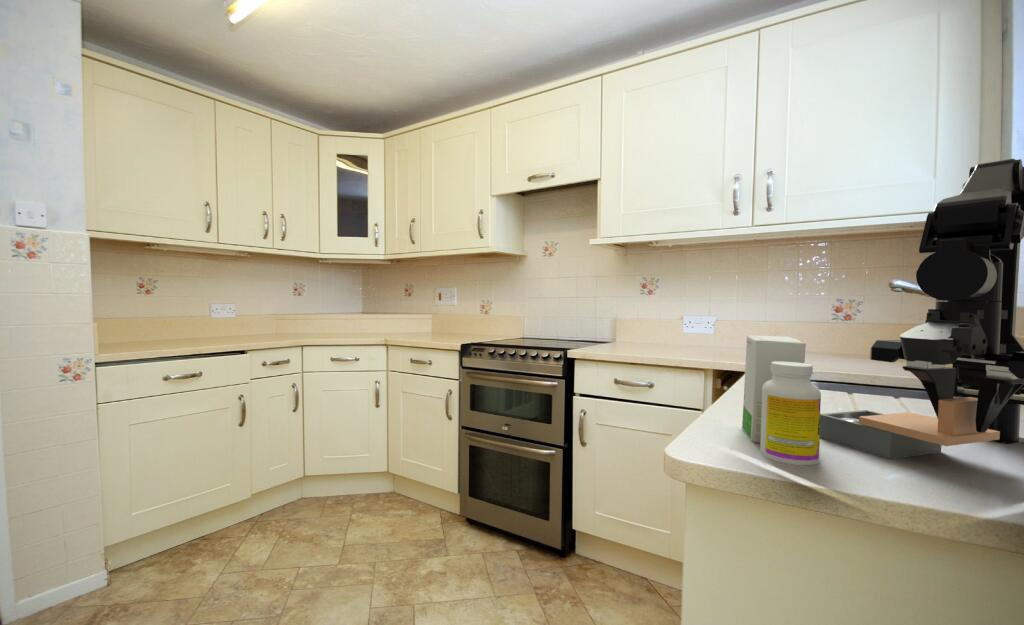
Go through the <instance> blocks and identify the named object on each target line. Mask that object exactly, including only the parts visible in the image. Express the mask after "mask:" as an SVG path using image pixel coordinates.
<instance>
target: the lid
mask: <svg viewBox="0 0 1024 625" xmlns="http://www.w3.org/2000/svg"><path fill="white" fill-rule="evenodd" d="M977 400H978V398H973V397H953V399H941V400H939V407H938V418H937V417H933V416H928V415H924V414H920V413H915V412H910V411H909V412H906V411H905V412H898V413H896V412H895V413H886V414H884V413H882V414H883V415H872V416H861V417H859V424H861V425H865V426H869V427H873V428H877V429H881V430H885V431H888V432H892V433H896V434H900V435H904V436H908V437H912V438H916V439H919V440H923V441H927V442H931V443H935V444H939V445H941V446H943V447H950V446H951V447H952V446H960V445H966V444H975V443H981V442H982V443H984V442H990V441H991V440H999V439H1000V431H995V430H990V429H987V431H986V432H982V433H980V432H977V431H976V410H977ZM991 442H992V441H991Z"/></svg>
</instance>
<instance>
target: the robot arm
mask: <svg viewBox="0 0 1024 625" xmlns="http://www.w3.org/2000/svg"><path fill="white" fill-rule="evenodd" d="M968 174H969V175H968V179H967V180H966V181H965V182H964V183H963V184H962V186H961V187H962V188H961V191H960V193H959V195H953V196H951V197H946V198H942V199H941V200H940V201H939V202H937V203H936V204H935V205H934V207H933V211H932V212H931V211H930V212H928V214H927V216H926V219H925V224H924V228H923V232H922V234H921V235H922V237H921V240H920V244H919V248H918V253H919V254H920V255H928V256H927V257H925V258H924V259H923V261H921V263H920V264H919V266H918V268H917V270H916V273H915V278H916V283H917V285H918V287H919V289H920V290H921V291H923V293H924V294H926V295H927V296H928V297H930V298H934V299H935V308H927V309H928V310H927V313H926V318H925V322H924V323H922V324H918V325H916V326H914V327H911V329H908V330H907V331H904V332H903V333H901V334H899V338H900V339H881V340H880V339H877V340H876V341H875V342H874V343H873V344H872V345H871V347H870V350H869V351H870V355H869V359H870V360H871V361H876V362H877V361H878V362H886V363H895V362H897V361H899V360H905V361H906V364H905V366H904V365H902V367H901V368H902V370H903V371H905V372H910V373H911V374H912V375H914V376H915V377H916V378H917V379H918V380H919V381H920V382H921V384H922V386H923V388H924V390H925V391H926V394H927V396H928V399H929V400H930V404H931V407H932V408H933V411H934V413H935V415H936V418H938V407H939V400H941V399H953V398H965V397H973V398H978V400H977V410H976V431H977V432H980V433H982V432H986V431H987V429H990V430H995V431H1000V439H999V440H991V442H995V443H999V444H1004V445H1011V444H1017V443H1018V444H1020V443H1021V444H1024V437H1020V422H1021V406H1024V396H1021V395H1024V345H1022V343H1021V342H1020V341H1019V339H1018V338H1017V337H1016V324H1017V323H1016V322H1017V321H1016V320H1017V307H1018V306H1017V304H1018V291H1019V288H1018V286H1019V275H1020V274H1019V273H1020V271H1019V269H1020V257H1021V256H1020V255H1021V242H1022V240H1023V239H1024V164H1023V161H1022V159H1021V158H1020V159H1015V158H1007V159H1002V160H995V161H989V162H983V163H978V164H977V165H975V166H971V167H970V168H969V173H968ZM946 365H952V367H949V366H946Z"/></svg>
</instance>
